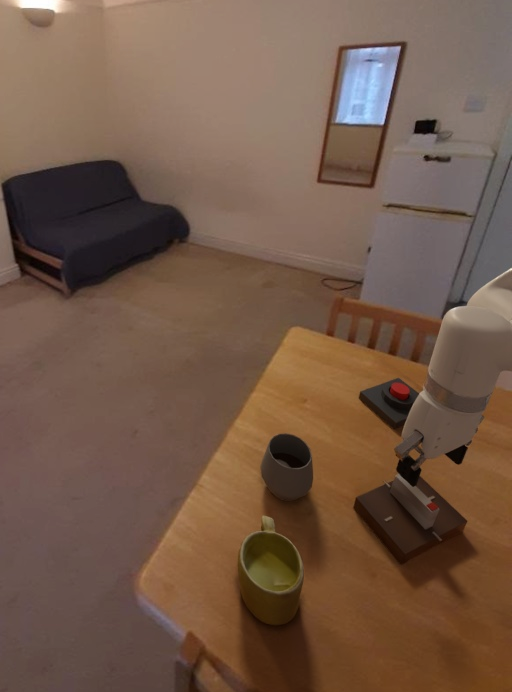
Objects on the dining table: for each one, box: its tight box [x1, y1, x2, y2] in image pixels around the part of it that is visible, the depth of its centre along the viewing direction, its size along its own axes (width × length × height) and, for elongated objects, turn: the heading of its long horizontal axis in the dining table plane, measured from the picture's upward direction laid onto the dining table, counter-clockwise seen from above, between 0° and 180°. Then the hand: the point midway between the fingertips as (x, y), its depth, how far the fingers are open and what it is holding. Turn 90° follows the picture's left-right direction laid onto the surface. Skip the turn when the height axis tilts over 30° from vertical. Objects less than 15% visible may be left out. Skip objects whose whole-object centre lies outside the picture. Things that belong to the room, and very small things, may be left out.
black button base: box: [358, 377, 420, 431], centre depth 93 cm, size 12×10×4 cm
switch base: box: [353, 475, 468, 566], centre depth 70 cm, size 14×11×3 cm
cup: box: [260, 432, 314, 502], centre depth 75 cm, size 10×9×10 cm
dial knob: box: [390, 473, 439, 530], centre depth 69 cm, size 7×2×5 cm, turn 20°
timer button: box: [390, 383, 410, 400], centre depth 92 cm, size 4×4×2 cm
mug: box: [237, 515, 305, 626], centre depth 62 cm, size 12×10×10 cm
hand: (428, 467), depth 65 cm, fingers open, 9 cm apart
